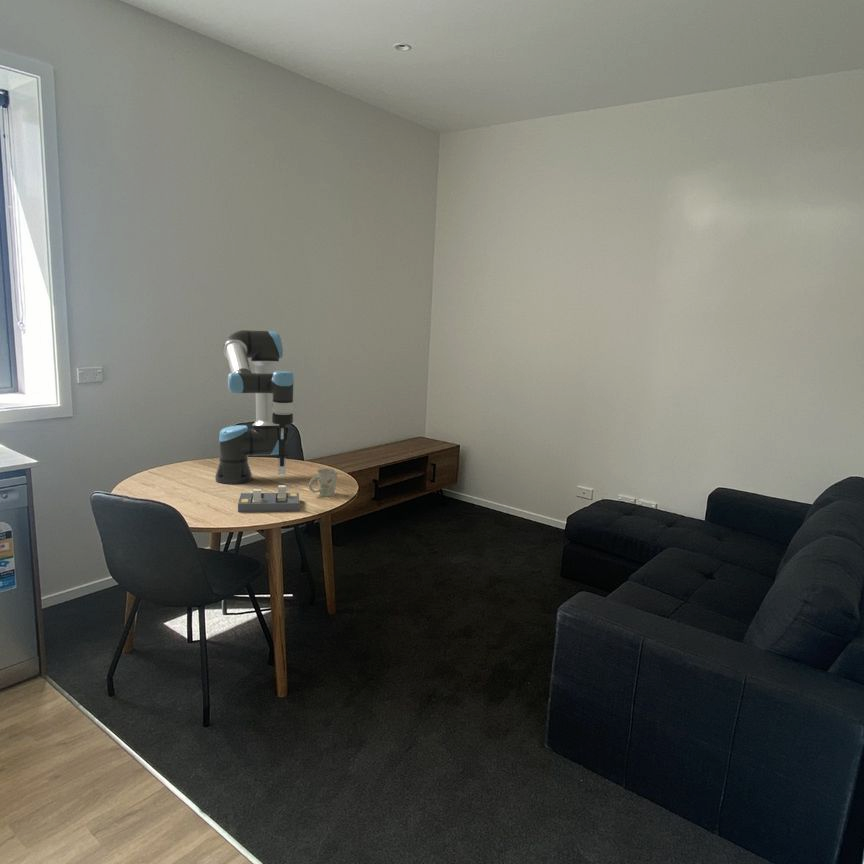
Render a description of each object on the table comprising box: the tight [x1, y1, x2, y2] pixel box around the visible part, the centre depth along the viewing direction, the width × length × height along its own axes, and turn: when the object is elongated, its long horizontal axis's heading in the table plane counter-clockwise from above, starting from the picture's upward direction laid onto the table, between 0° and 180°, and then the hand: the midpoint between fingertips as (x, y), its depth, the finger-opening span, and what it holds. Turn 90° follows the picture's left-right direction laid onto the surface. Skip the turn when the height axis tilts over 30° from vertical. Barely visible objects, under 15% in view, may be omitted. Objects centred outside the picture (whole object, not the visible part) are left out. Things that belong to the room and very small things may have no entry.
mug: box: [308, 468, 338, 498], centre depth 250 cm, size 8×13×10 cm, turn 133°
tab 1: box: [252, 488, 262, 503], centre depth 230 cm, size 4×3×6 cm
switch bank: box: [237, 492, 300, 513], centre depth 234 cm, size 14×22×3 cm, turn 102°
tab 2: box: [277, 484, 287, 502], centre depth 237 cm, size 4×3×6 cm
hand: (281, 473), depth 233 cm, fingers closed
